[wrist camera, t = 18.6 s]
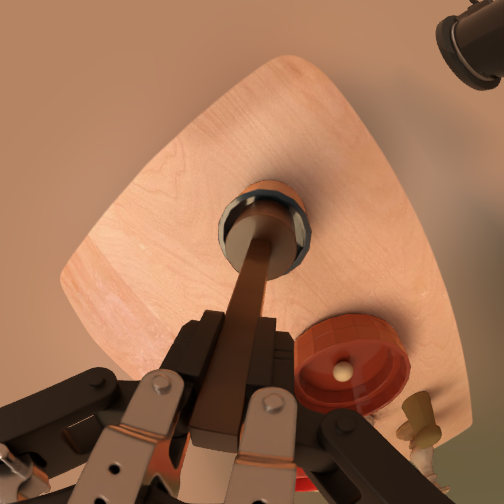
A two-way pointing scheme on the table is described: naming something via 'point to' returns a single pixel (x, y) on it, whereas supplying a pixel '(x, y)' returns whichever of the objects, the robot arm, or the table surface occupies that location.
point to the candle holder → (420, 455)
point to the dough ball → (343, 371)
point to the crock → (276, 193)
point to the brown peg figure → (422, 419)
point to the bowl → (358, 355)
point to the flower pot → (303, 482)
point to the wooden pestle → (241, 321)
